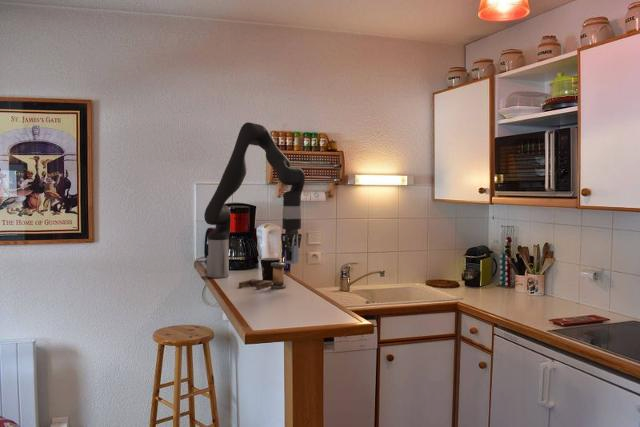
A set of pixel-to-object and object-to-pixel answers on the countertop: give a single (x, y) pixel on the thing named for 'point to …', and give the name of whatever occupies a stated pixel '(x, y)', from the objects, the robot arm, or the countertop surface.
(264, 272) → the coffee mug
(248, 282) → the u-shaped bracket
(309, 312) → the countertop surface
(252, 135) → the robot arm
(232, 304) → the countertop surface
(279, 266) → the bobbin
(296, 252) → the grey rectangular block
